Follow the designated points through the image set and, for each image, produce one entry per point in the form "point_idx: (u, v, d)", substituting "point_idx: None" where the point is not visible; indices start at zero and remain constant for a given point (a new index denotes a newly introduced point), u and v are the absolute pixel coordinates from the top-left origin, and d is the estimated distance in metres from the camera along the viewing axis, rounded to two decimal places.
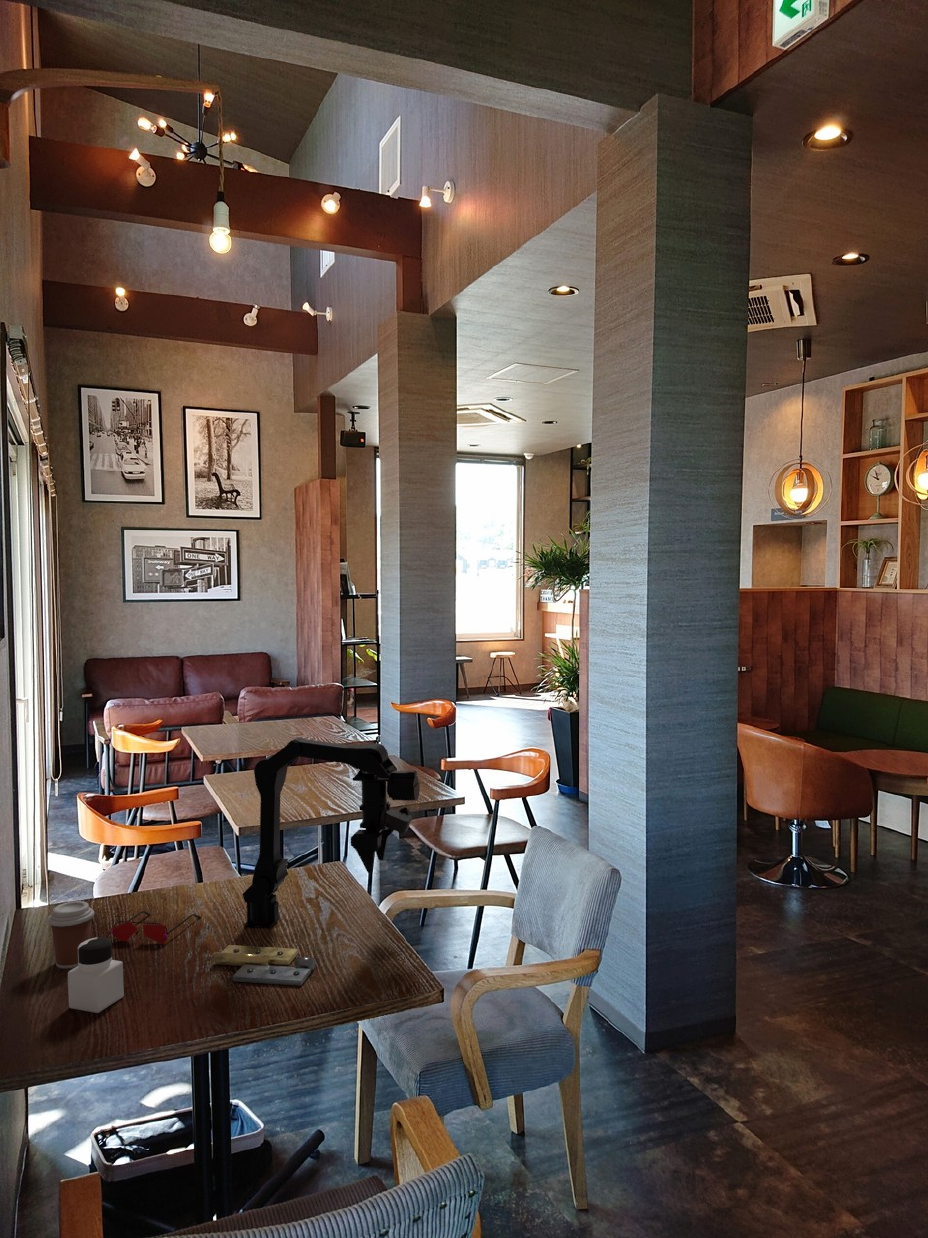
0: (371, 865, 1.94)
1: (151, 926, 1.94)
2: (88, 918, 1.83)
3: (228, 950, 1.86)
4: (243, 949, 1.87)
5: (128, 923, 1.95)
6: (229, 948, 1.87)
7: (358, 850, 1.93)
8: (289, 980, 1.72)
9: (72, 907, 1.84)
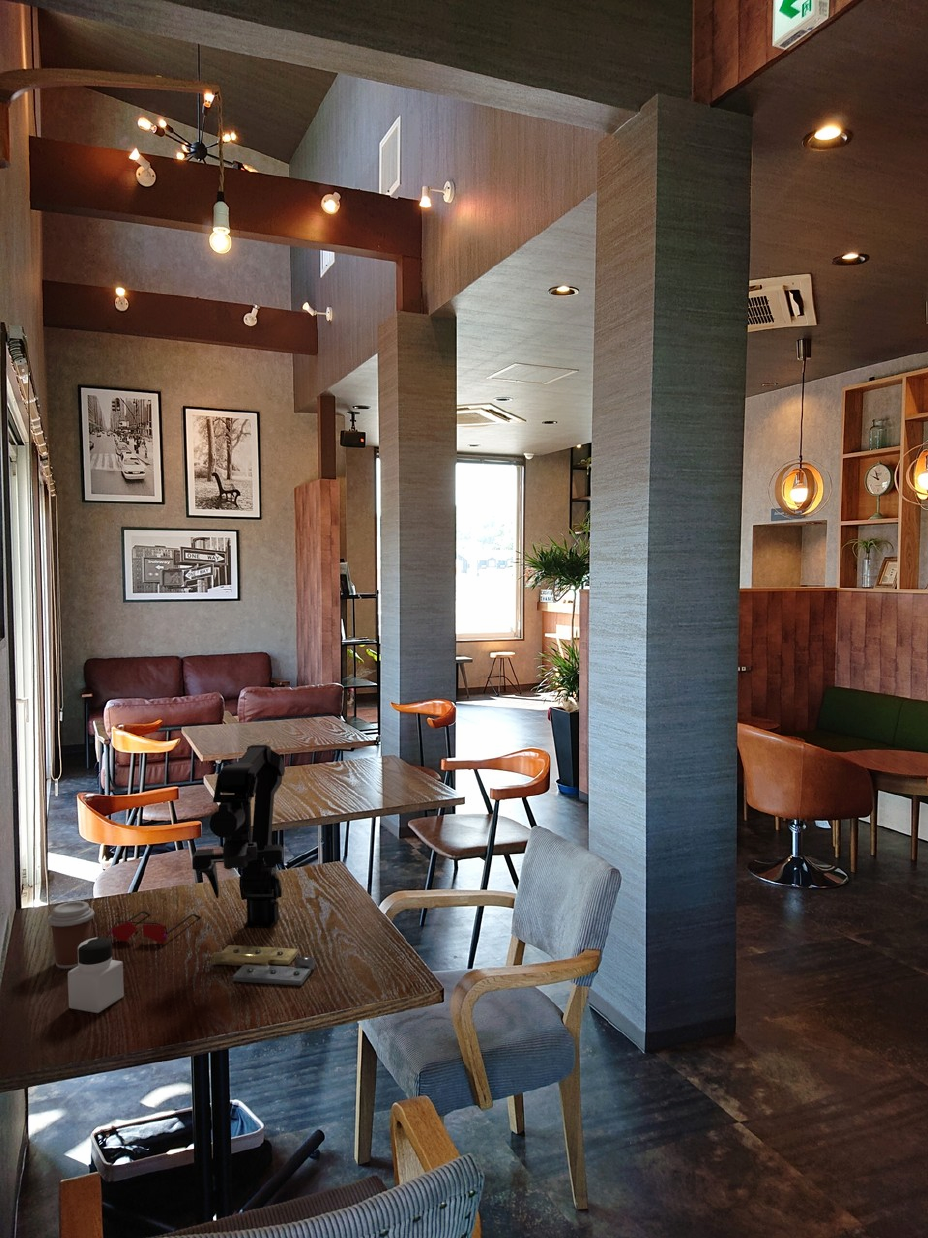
0: (213, 889, 1.85)
1: (151, 926, 1.94)
2: (88, 918, 1.83)
3: (228, 950, 1.86)
4: (243, 949, 1.87)
5: (128, 923, 1.95)
6: (229, 948, 1.87)
7: None
8: (289, 980, 1.72)
9: (73, 907, 1.84)
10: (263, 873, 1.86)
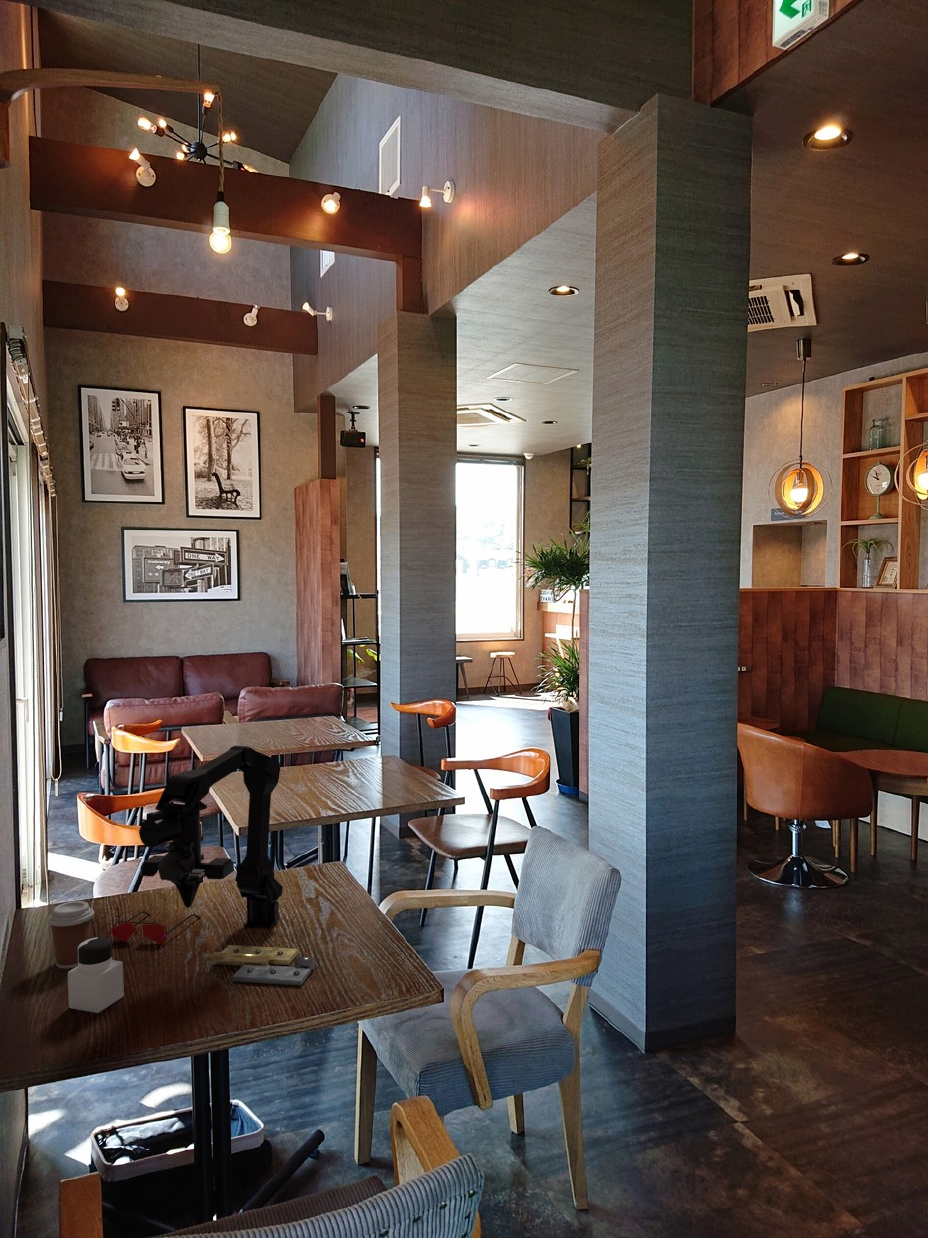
0: None
1: (150, 926, 1.94)
2: (88, 918, 1.83)
3: (228, 950, 1.86)
4: (243, 949, 1.87)
5: (127, 923, 1.95)
6: (229, 948, 1.87)
7: None
8: (289, 980, 1.72)
9: (73, 907, 1.84)
10: (188, 886, 1.81)
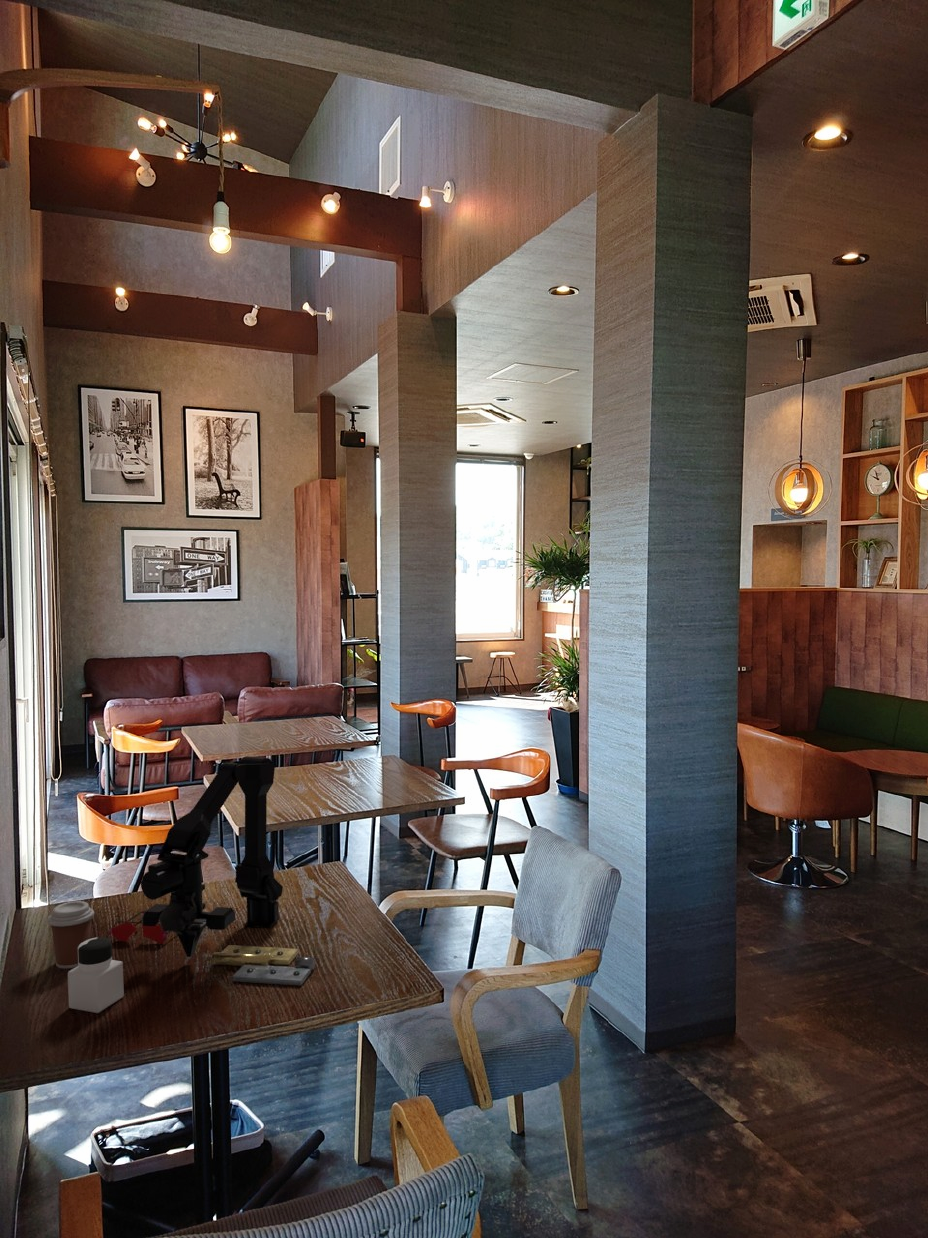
0: None
1: (150, 926, 1.94)
2: (88, 918, 1.83)
3: (228, 950, 1.86)
4: (243, 949, 1.87)
5: (127, 923, 1.95)
6: (229, 948, 1.87)
7: None
8: (289, 980, 1.72)
9: (73, 907, 1.84)
10: (189, 936, 1.81)
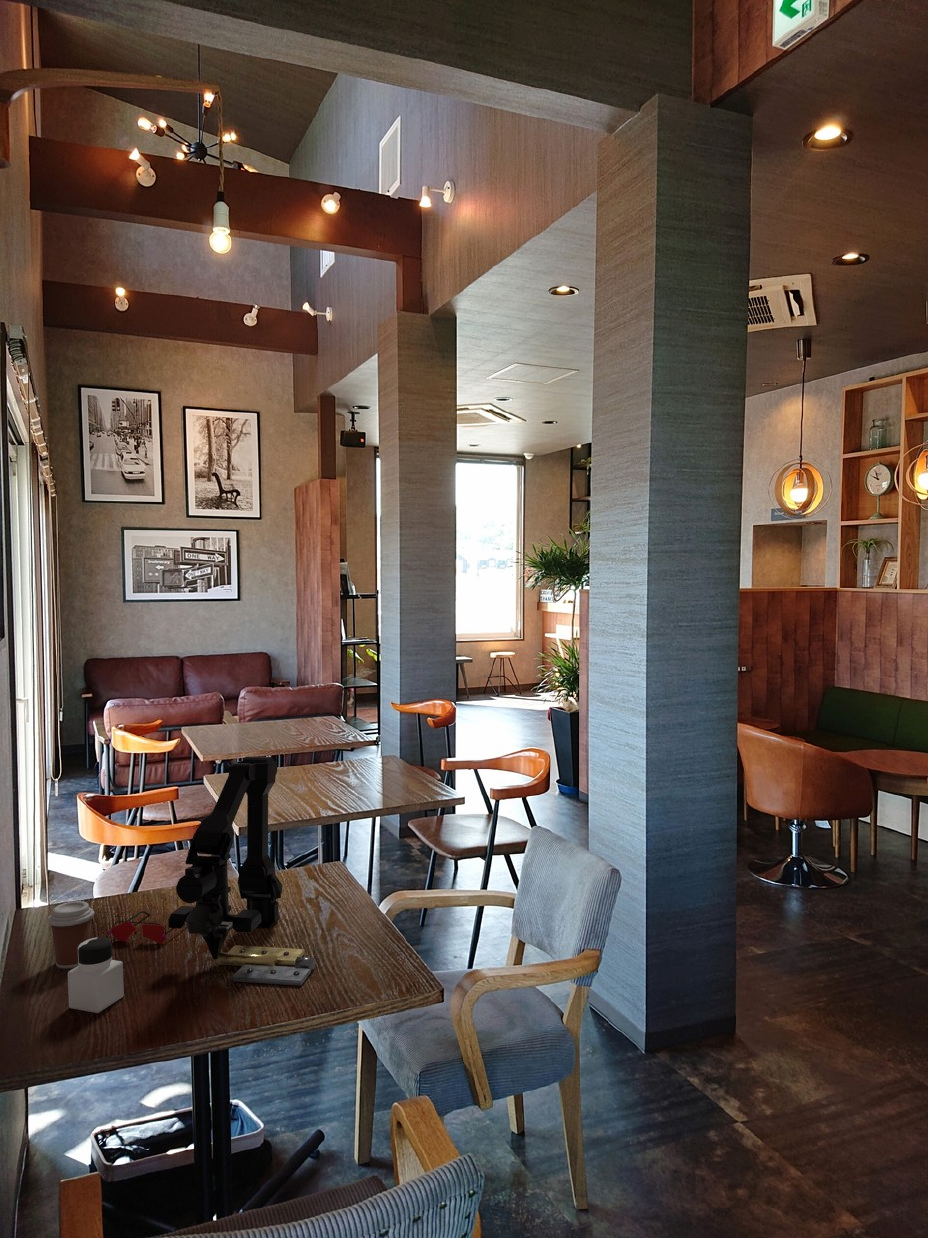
0: None
1: (149, 926, 1.94)
2: (88, 918, 1.83)
3: (234, 950, 1.86)
4: (250, 950, 1.86)
5: (127, 923, 1.95)
6: (235, 948, 1.87)
7: None
8: (289, 980, 1.72)
9: (73, 907, 1.84)
10: (215, 938, 1.80)
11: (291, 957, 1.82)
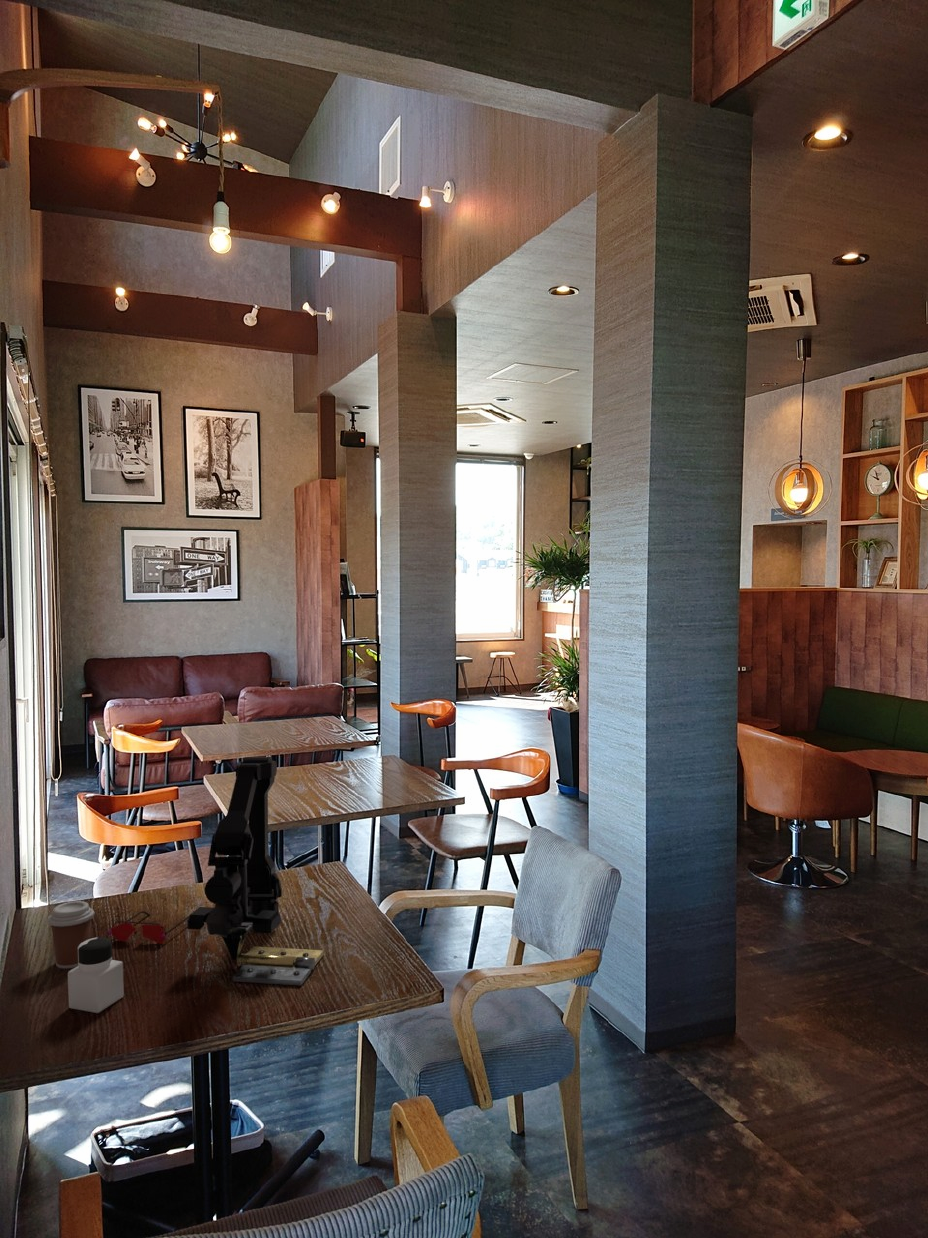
0: None
1: (149, 926, 1.94)
2: (88, 918, 1.83)
3: (253, 951, 1.85)
4: (268, 951, 1.86)
5: (126, 923, 1.95)
6: (254, 949, 1.86)
7: None
8: (289, 980, 1.72)
9: (73, 907, 1.84)
10: (235, 939, 1.80)
11: None
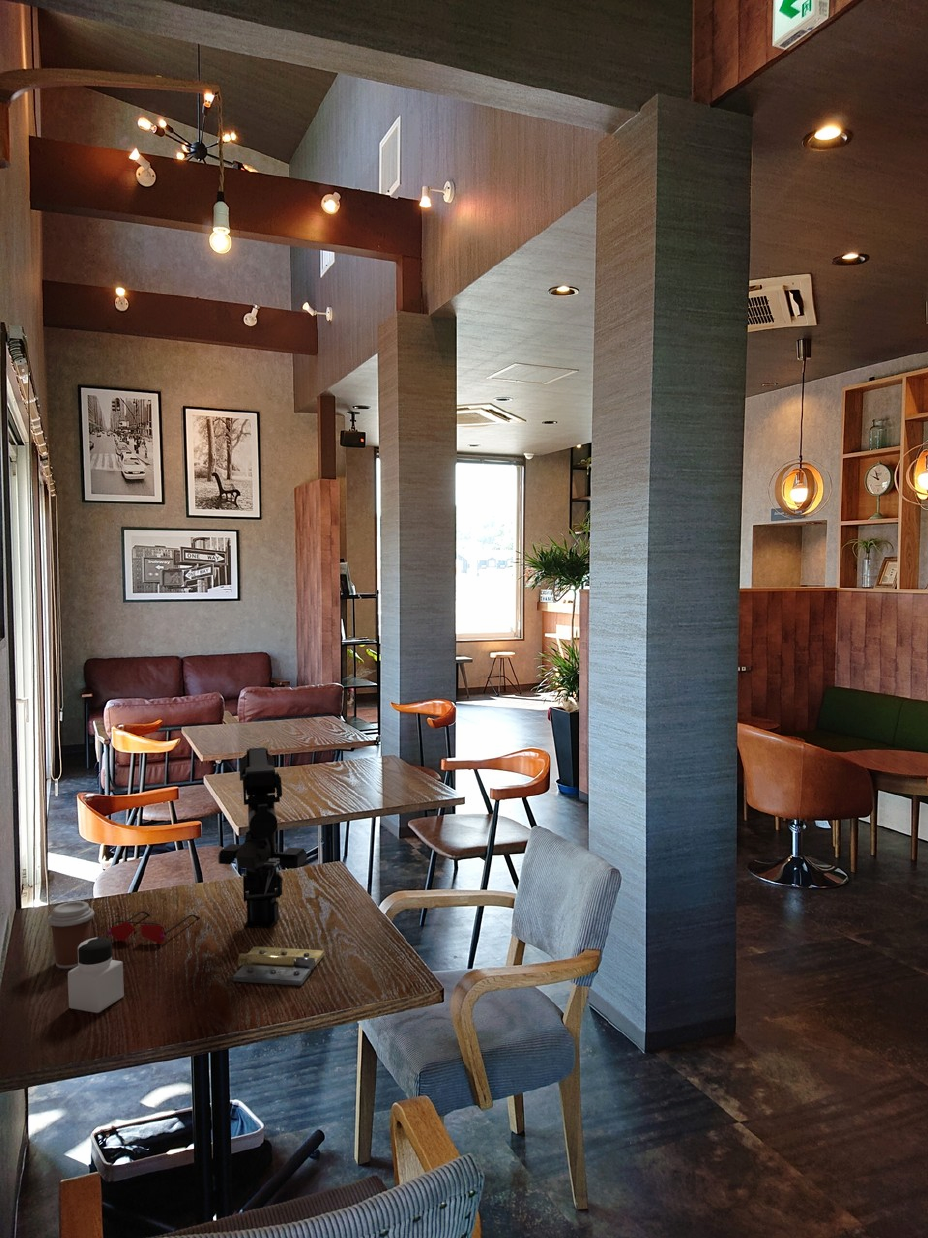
0: None
1: (149, 926, 1.94)
2: (88, 918, 1.83)
3: (254, 951, 1.85)
4: (269, 951, 1.86)
5: (126, 923, 1.95)
6: (255, 949, 1.86)
7: None
8: (289, 980, 1.72)
9: (73, 907, 1.84)
10: (263, 874, 1.89)
11: None
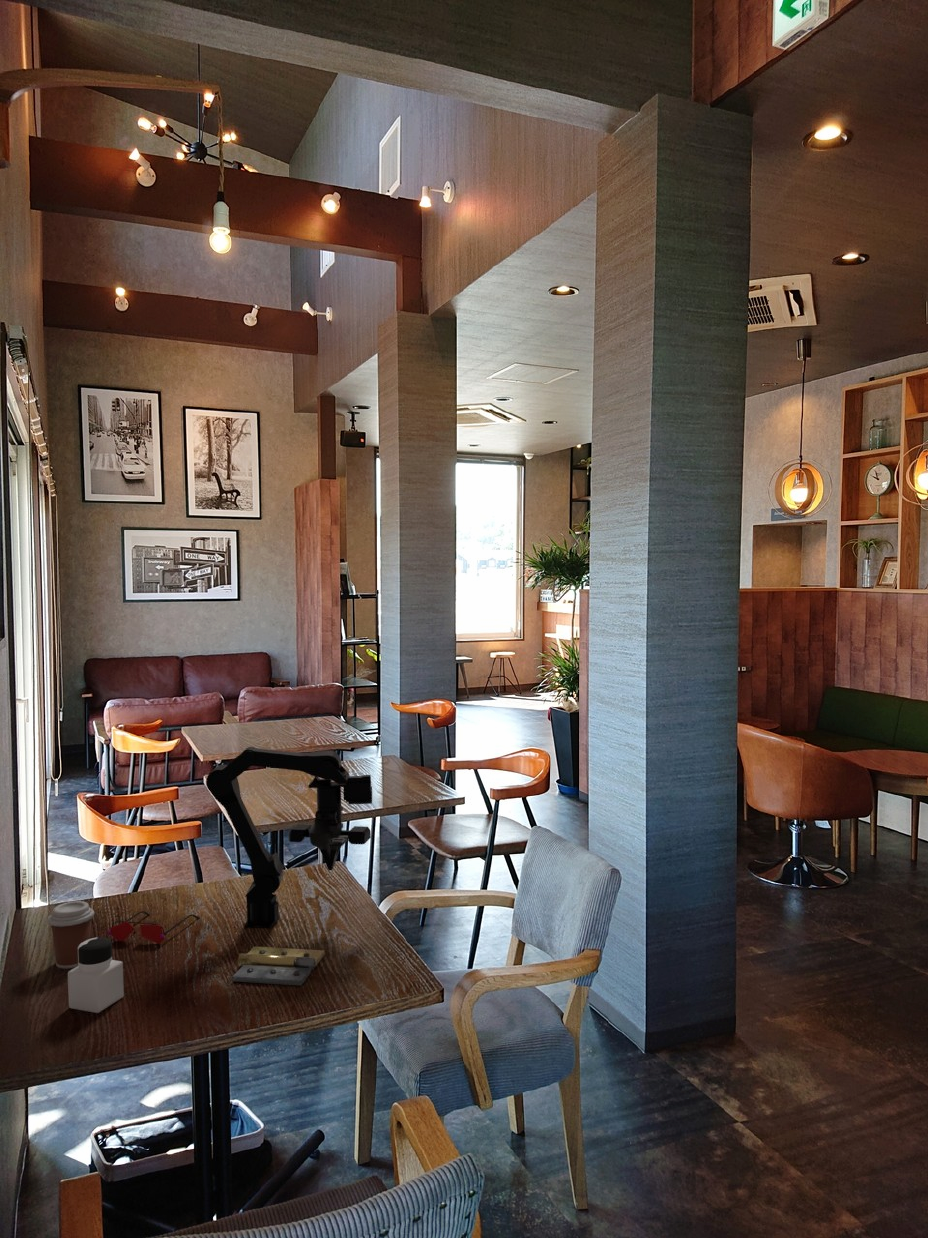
0: None
1: (148, 926, 1.94)
2: (88, 918, 1.83)
3: (254, 951, 1.85)
4: (269, 951, 1.86)
5: (125, 923, 1.95)
6: (255, 949, 1.86)
7: None
8: (289, 980, 1.72)
9: (73, 907, 1.84)
10: (331, 851, 2.04)
11: None
